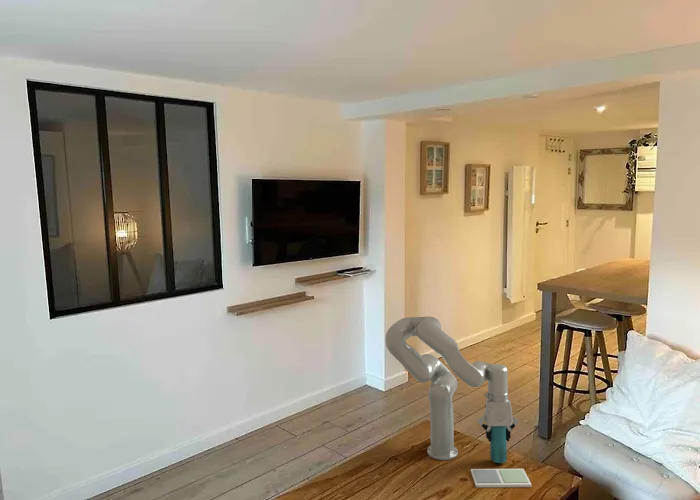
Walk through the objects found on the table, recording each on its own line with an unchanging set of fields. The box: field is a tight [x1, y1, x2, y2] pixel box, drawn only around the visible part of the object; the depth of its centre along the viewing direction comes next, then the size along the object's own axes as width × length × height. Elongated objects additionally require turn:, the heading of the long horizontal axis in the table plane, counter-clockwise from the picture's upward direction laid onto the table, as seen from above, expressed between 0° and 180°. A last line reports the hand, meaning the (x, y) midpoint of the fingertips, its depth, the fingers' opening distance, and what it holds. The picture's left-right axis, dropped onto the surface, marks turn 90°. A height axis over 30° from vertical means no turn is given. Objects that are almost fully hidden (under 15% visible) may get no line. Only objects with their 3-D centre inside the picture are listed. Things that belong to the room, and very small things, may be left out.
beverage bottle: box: [489, 426, 508, 464], centre depth 206 cm, size 6×7×20 cm
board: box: [470, 468, 533, 488], centre depth 195 cm, size 20×11×1 cm, turn 87°
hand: (498, 439), depth 206 cm, fingers closed on beverage bottle, 6 cm apart
